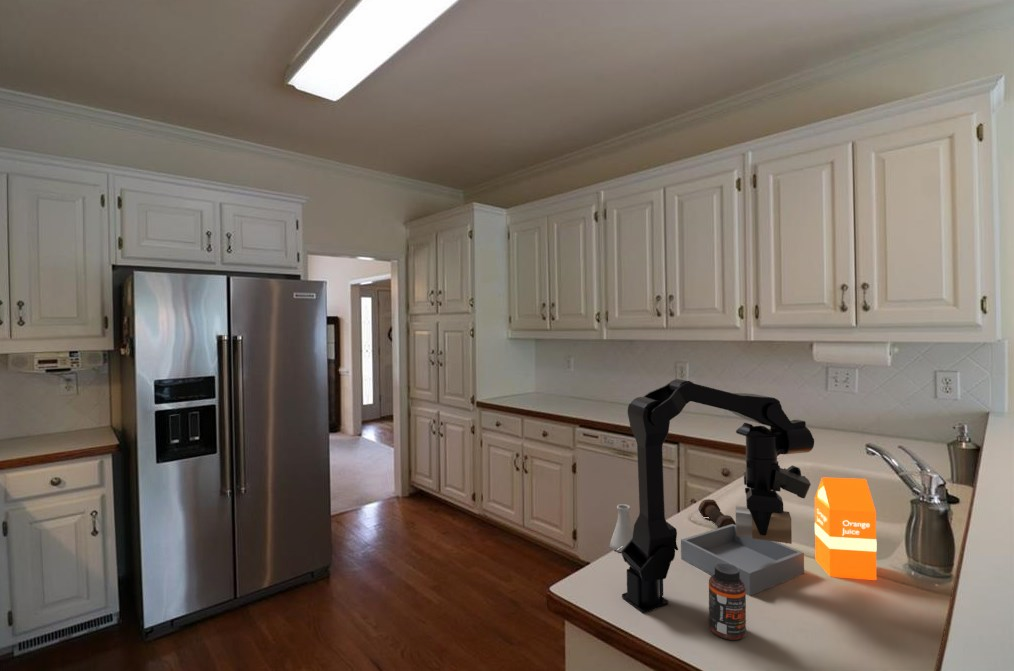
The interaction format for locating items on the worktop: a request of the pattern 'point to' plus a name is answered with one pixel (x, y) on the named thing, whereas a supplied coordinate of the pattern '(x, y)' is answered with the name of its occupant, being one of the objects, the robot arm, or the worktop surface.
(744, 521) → the tan rectangular block
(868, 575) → the orange juice
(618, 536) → the flask
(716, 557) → the bin
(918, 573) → the worktop surface
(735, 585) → the supplement bottle
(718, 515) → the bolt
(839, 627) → the worktop surface
